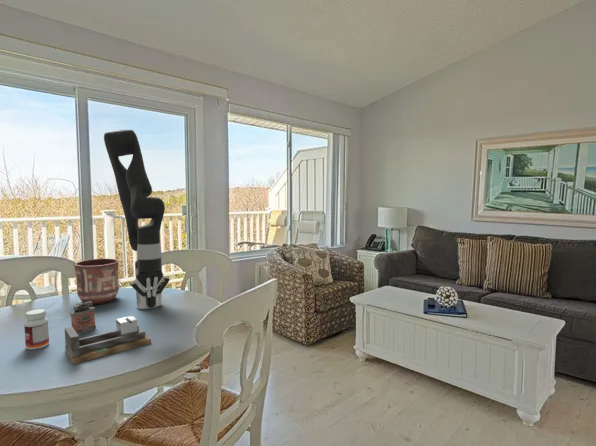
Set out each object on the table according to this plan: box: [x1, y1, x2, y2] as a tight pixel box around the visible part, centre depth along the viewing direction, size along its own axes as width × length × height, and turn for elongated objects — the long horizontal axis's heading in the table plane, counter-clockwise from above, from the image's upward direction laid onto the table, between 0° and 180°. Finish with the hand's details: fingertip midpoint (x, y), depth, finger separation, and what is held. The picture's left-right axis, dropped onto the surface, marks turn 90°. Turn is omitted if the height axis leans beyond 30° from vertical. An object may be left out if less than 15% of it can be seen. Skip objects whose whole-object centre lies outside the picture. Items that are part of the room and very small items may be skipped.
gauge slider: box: [115, 315, 138, 337], centre depth 119 cm, size 5×7×6 cm
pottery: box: [74, 258, 120, 306], centre depth 165 cm, size 18×18×18 cm
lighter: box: [69, 301, 97, 335], centre depth 130 cm, size 8×3×10 cm, turn 148°
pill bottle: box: [23, 308, 50, 350], centre depth 117 cm, size 6×6×11 cm
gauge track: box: [64, 324, 152, 365], centre depth 116 cm, size 22×12×8 cm, turn 131°
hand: (151, 307), depth 124 cm, fingers closed
